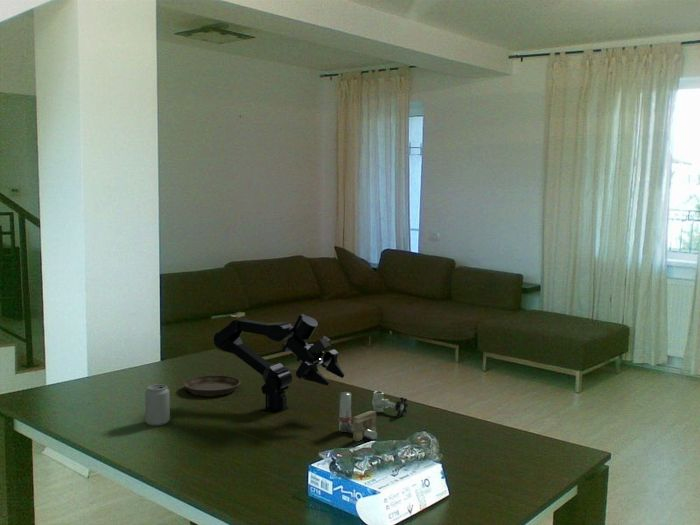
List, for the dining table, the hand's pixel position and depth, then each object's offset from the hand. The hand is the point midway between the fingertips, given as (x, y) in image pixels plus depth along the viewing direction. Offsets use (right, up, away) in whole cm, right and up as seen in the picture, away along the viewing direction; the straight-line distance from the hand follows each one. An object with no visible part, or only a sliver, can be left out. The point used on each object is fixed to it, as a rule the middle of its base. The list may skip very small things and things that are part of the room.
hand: (336, 380), depth 217 cm
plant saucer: (-47, -10, +35) cm, 60 cm away
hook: (+7, -15, -11) cm, 20 cm away
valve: (+17, -13, +10) cm, 24 cm away
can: (-57, -14, -1) cm, 59 cm away
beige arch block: (+9, -15, -13) cm, 22 cm away
